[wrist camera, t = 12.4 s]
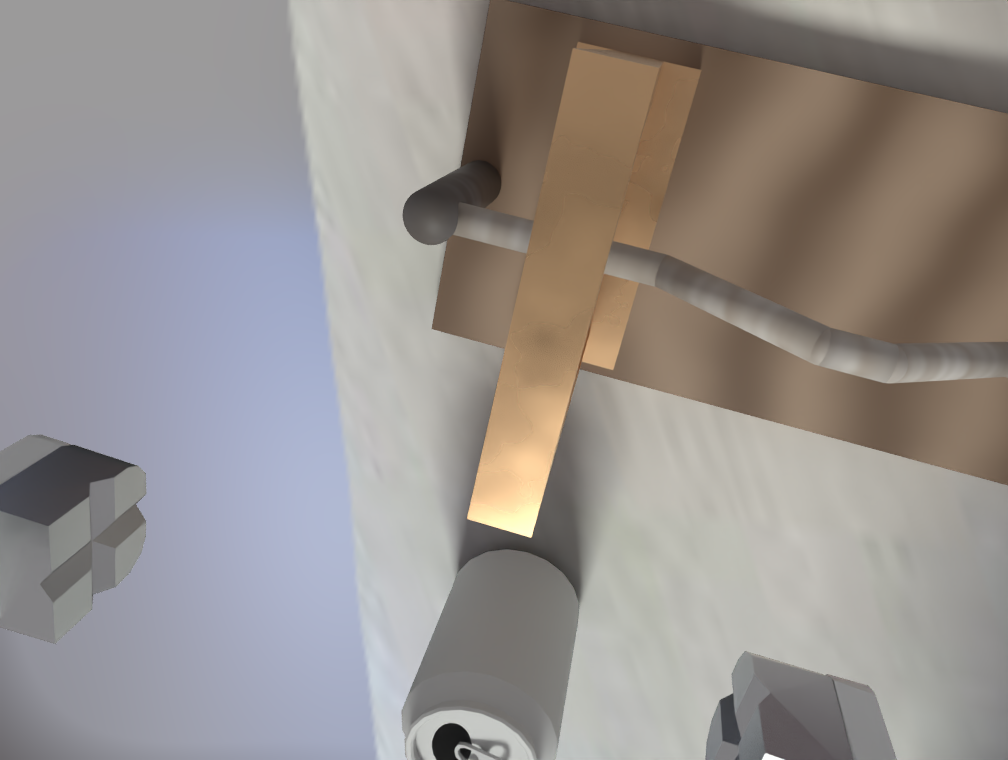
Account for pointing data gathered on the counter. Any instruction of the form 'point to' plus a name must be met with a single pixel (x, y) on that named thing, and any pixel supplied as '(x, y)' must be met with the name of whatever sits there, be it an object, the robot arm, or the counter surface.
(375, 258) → the counter surface
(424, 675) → the can
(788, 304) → the buzz board
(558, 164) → the wooden frame
